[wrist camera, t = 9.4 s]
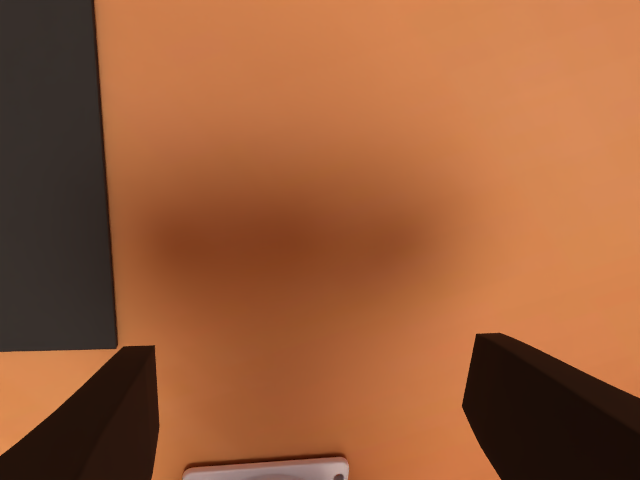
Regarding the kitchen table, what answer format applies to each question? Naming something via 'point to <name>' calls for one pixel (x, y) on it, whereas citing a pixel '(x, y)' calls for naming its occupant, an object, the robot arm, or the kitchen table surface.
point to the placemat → (53, 181)
